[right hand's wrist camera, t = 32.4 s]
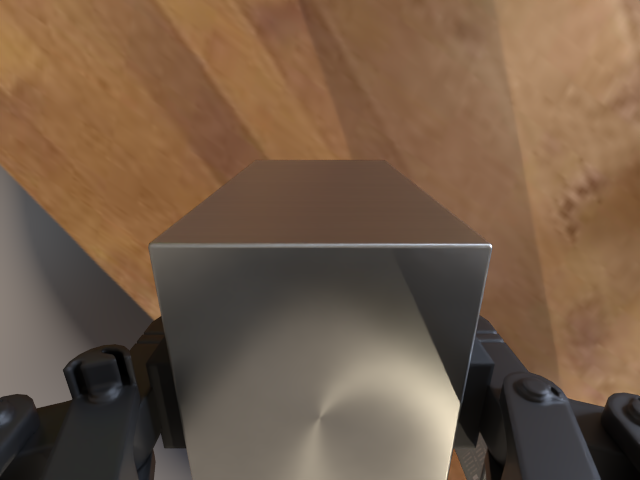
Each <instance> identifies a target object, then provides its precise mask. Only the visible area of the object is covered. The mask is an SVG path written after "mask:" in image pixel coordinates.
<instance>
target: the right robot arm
mask: <svg viewBox="0 0 640 480" xmlns="http://www.w3.org/2000/svg"><path fill="white" fill-rule="evenodd" d="M63 372H64V375H65V378H66V381H67V384H68V387H69V390H70V393H71V396H72V400H70V401H67V402H62V403H58V404H54V405H49V406H45V407H41V408H36V407H35V404H34V402H33V399H32V398H30V397H29V396H27V395H21V394H15V395H9V396H4V397H1V398H0V480H154V472H155V455H154V451H153V448H154V446H155V443H156V441H157V439H158V437H159V435H160V433H161V435H162V440H163V444H164V448H186V443H185V438H184V433H183V427H182V422H181V417H180V412H179V406H178V401H177V396H176V390H175V385H174V380H173V375H172V369H171V364H170V359H169V354H168V348H167V343H166V338H165V332H164V327H163V322H162V317H159V318H158V319H156V320H155V321H153V322H152V323H151V324H150V326H149V327H148V328H147V329H146V331H145V332H144V335H142V336H141V337H140V338H139V340H138V341H137V344H135V345H134V346H133V347H132V348H131V350H130V351H129V350H128V349H127V348H126V347H124V346H121V345H116V344H114V345H103V346H100V347H96V348H93V349H90V350H88V351H86V352H84V353H82V354H80V355H78V356H77V357H75V358H74V359H73V360H71V361H70V362H69V363H68V364H67V365H66V367H65V368H64V369H63ZM479 432H480V433H481V435H482V437H483V439H484V441H485V443H486V445H487V451H486V455H485V459H484V463H483V467H482V471H481V476H480V480H485V479H486V480H640V396H638V395H634V394H629V393H615V394H613V395H611V396H610V397H609V398H608V400H607V403H606V405H605V407H602V406H597V405H593V404H589V403H584V402H580V401H576V400H572V399H569V398H567V397H566V395H565V394H564V392H563V391H562V390H561V389H560V388H559V387H558V386H556V385H555V384H554V383H553V382H551V381H549V380H547V379H546V378H544V377H542V376H539V375H536V374H533V373H530V372H528V371H527V369H526V368H525V367H524V366H523V364H522V363H521V362H520V360H519V359H518V358H517V357H516V355H515V354H514V353H513V352H512V350H511V349H510V348H509V347H508V345H507V344H506V343H504V341H503V339H502V338H501V336H500V335H499V334H497V331H496V330H495V329H494V328H493V326H492V325H491V324H490V323H489V321H487V320H486V319H484V318H483V317H482V316H480V315H479V319H478V324H477V329H476V334H475V340H474V345H473V350H472V355H471V360H470V365H469V370H468V376H467V381H466V386H465V391H464V396H463V401H462V406H461V412H460V417H459V422H458V427H457V432H456V437H455V443H454V448H476V446H477V441H478V437H479Z"/></svg>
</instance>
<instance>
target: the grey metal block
mask: <svg viewBox="0 0 640 480" xmlns="http://www.w3.org/2000/svg"><path fill="white" fill-rule="evenodd" d="M148 248H149V253H150V259H151V264H152V269H153V274H154V280H155V285H156V290H157V296H158V301H159V306H160V311H161V317H162V322H163V327H164V332H165V338H166V343H167V348H168V354H169V359H170V364H171V369H172V375H173V380H174V385H175V390H176V396H177V401H178V406H179V412H180V417H181V422H182V427H183V433H184V438H185V443H186V448H187V454H188V459H189V464H190V470H191V475H192V480H447V479H448V473H449V468H450V463H451V458H452V453H453V448H454V443H455V437H456V432H457V427H458V422H459V417H460V412H461V406H462V401H463V396H464V391H465V386H466V381H467V376H468V370H469V365H470V360H471V355H472V350H473V345H474V340H475V334H476V329H477V324H478V319H479V314H480V309H481V303H482V298H483V293H484V288H485V283H486V278H487V273H488V267H489V262H490V257H491V252H492V245H491V243H489V242H488V241H487V240H486V239H484V238H483V237H482V236H480V235H479V234H478V233H477V232H475V231H474V230H473V229H472V228H470V227H469V226H468V225H466V224H465V223H464V222H463V221H461V220H460V219H459V218H458V217H456V216H455V215H454V214H452V213H451V212H450V211H449V210H447V209H446V208H445V207H444V206H442V205H441V204H440V203H438V202H437V201H436V200H435V199H433V198H432V197H431V196H430V195H428V194H427V193H426V192H424V191H423V190H422V189H421V188H419V187H418V186H417V185H416V184H414V183H413V182H412V181H410V180H409V179H408V178H407V177H405V176H404V175H403V174H402V173H400V172H399V171H398V170H397V169H395V168H394V167H393V166H391V165H390V164H389V163H388V162H386V161H385V160H255V161H254V162H253V163H251V164H250V165H249V166H248V167H246V168H245V169H244V170H242V171H241V172H240V173H239V174H237V175H236V176H235V177H234V178H232V179H231V180H230V181H228V182H227V183H226V184H225V185H223V186H222V187H221V188H219V189H218V190H217V191H216V192H214V193H213V194H212V195H211V196H209V197H208V198H207V199H205V200H204V201H203V202H202V203H200V204H199V205H198V206H196V207H195V208H194V209H193V210H191V211H190V212H189V213H188V214H186V215H185V216H184V217H182V218H181V219H180V220H179V221H177V222H176V223H175V224H173V225H172V226H171V227H170V228H168V229H167V230H166V231H165V232H163V233H162V234H161V235H159V236H158V237H157V238H156V239H154V240H153V241H152V242H151V243H149V247H148Z"/></svg>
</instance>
